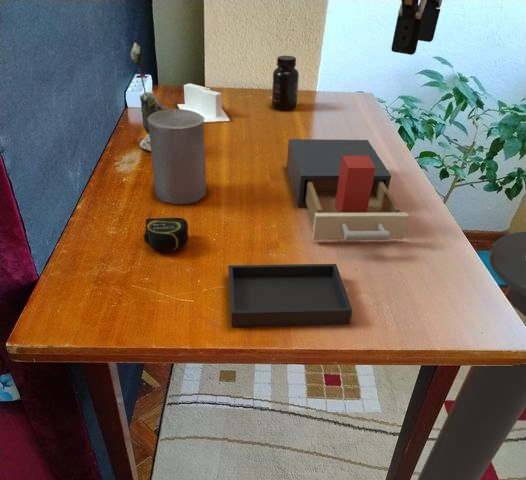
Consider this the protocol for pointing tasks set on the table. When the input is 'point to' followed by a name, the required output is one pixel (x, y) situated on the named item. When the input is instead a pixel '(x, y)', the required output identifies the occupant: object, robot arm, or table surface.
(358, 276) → the table surface
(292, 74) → the supplement bottle
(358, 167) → the card box
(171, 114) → the pillar candle
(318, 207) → the drawer
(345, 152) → the cabinet
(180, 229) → the tape measure
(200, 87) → the napkin holder
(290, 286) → the tray
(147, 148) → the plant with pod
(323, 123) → the table surface
